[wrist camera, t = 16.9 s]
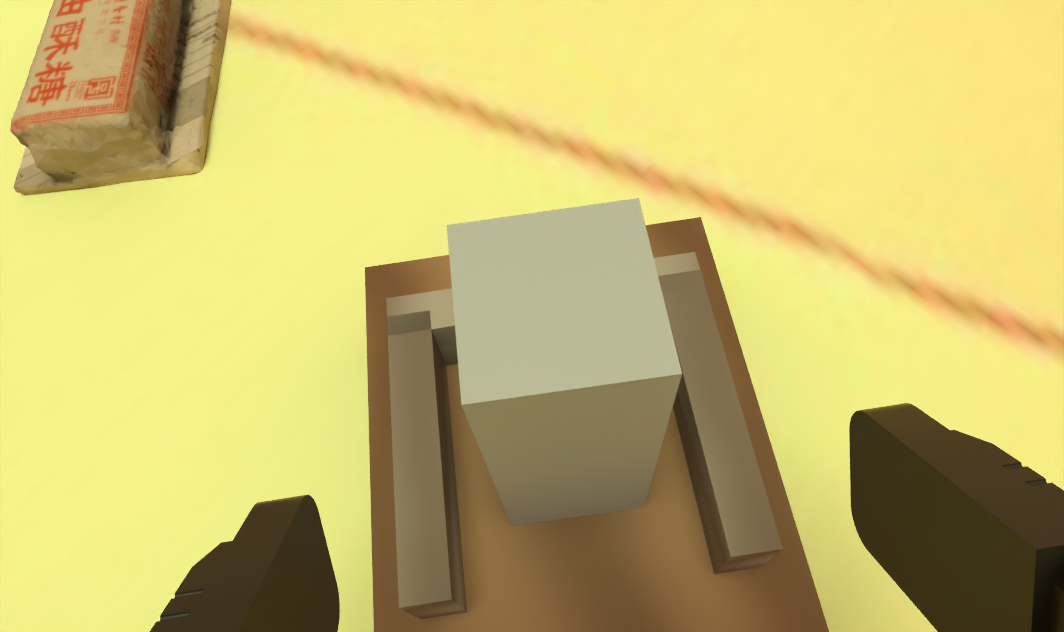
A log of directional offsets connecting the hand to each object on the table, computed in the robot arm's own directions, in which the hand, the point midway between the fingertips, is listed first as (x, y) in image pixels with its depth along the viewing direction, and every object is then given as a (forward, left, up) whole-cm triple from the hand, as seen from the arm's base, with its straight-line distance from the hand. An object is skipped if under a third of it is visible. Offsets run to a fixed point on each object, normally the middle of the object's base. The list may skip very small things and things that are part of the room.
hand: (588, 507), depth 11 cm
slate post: (0, +5, -14) cm, 15 cm away
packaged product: (-21, +34, -18) cm, 44 cm away
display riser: (0, +3, -18) cm, 18 cm away
